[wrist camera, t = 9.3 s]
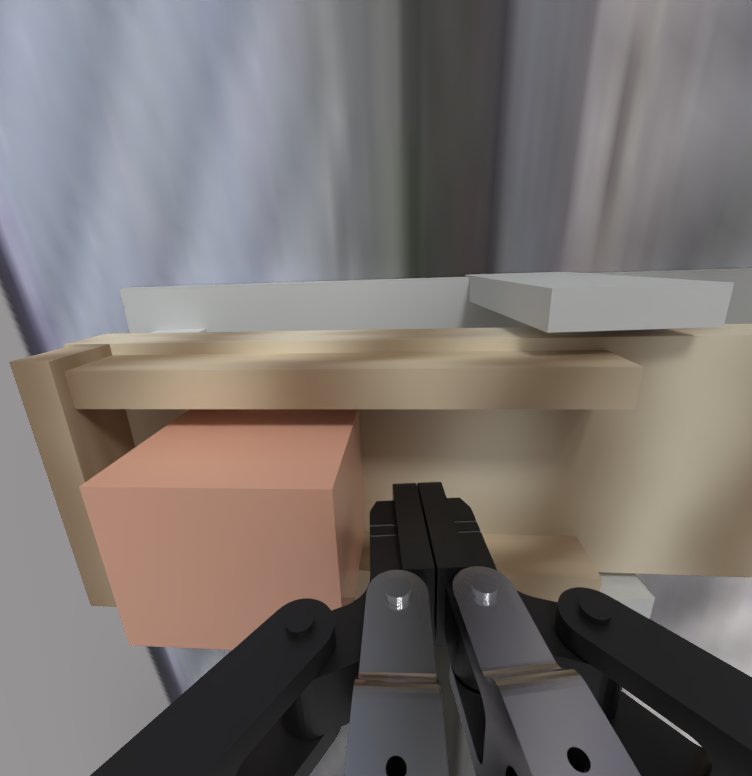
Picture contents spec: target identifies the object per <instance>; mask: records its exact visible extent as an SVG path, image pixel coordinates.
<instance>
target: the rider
mask: <svg viewBox="0 0 752 776" xmlns="http://www.w3.org/2000/svg"><path fill="white" fill-rule="evenodd" d="M79 488H80V491H81V495H82V498H83V501H84V504H85V507H86V510H87V514H88V517H89V520H90V523H91V526H92V529H93V532H94V536H95V539H96V542H97V545H98V548H99V551H100V555H101V558H102V561H103V564H104V567H105V570H106V574H107V577H108V580H109V583H110V586H111V589H112V592H113V596H114V599H115V602H116V605H117V608H118V611H119V614H120V618H121V621H122V624H123V627H124V630H125V634H126V636H127V640H128V643H129V645H136V646H158V647H179V648H201V649H222V650H233V649H234V648H235V647H236V646H238V645H239V644H240V643H241V642H242V641H243V640H244V639H245V638H247V637H248V636H249V635H250V634H251V633H252V632H253V631H255V630H256V629H257V628H258V627H259V626H260V625H261V624H262V623H264V622H265V621H266V620H267V619H268V618H269V617H270V616H272V615H273V614H274V613H275V612H276V611H277V610H278V609H280V608H281V607H282V606H284V605H285V604H287V603H289V602H291V601H294V600H298V599H304V598H311V599H316V600H319V601H321V602H323V603H325V604H326V605H327V606H328V607H329V608H330V609H331V610H334V609H337V608H340V607H343V606H346V605H348V604H350V603H352V602H354V598H355V592H356V585H357V579H358V572H359V566H360V559H361V553H362V546H363V540H364V533H365V518H364V499H363V481H362V462H361V444H360V425H359V409H190V410H188V411H187V412H185V413H184V414H182V415H181V416H180V417H178V418H177V419H175V420H174V421H172V422H171V423H170V424H168V425H167V426H165V427H164V428H162V429H161V430H159V431H158V432H157V433H155V434H154V435H152V436H151V437H149V438H148V439H147V440H145V441H144V442H142V443H141V444H139V445H138V446H137V447H135V448H134V449H132V450H131V451H129V452H128V453H127V454H125V455H124V456H122V457H121V458H119V459H118V460H117V461H115V462H114V463H112V464H111V465H109V466H108V467H107V468H105V469H104V470H102V471H101V472H99V473H98V474H97V475H95V476H94V477H92V478H91V479H89V480H88V481H87V482H85V483H84V484H82V485H81V486H79Z"/></svg>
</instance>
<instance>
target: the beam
mask: <svg viewBox="0 0 752 776" xmlns="http://www.w3.org/2000/svg"><path fill="white" fill-rule="evenodd" d="M63 346H64V348H61V349H57V350H53V351H49V352H46V353H42V354H38V355H34V356H30V357H27V358H23V359H19V360H15V361H12V362H10V365H11V368H12V370H13V374H14V377H15V380H16V383H17V386H18V389H19V392H20V395H21V398H22V401H23V404H24V407H25V410H26V413H27V416H28V419H29V422H30V425H31V428H32V431H33V434H34V437H35V440H36V443H37V446H38V449H39V452H40V455H41V458H42V461H43V464H44V467H45V470H46V473H47V476H48V479H49V482H50V485H51V488H52V491H53V494H54V497H55V500H56V503H57V506H58V508H59V512H60V515H61V518H62V521H63V523H64V526H65V529H66V533H67V535H68V538H69V542H70V545H71V548H72V550H73V553H74V556H75V559H76V562H77V565H78V568H79V571H80V574H81V577H82V580H83V583H84V586H85V589H86V592H87V595H88V598H89V601H90V604H91V606H111V607H117V605H116V602H115V599H114V596H113V592H112V589H111V586H110V583H109V580H108V577H107V574H106V570H105V567H104V564H103V561H102V558H101V555H100V551H99V548H98V545H97V542H96V539H95V536H94V532H93V529H92V526H91V523H90V520H89V517H88V514H87V510H86V507H85V504H84V501H83V498H82V495H81V491H80V488H79V486H81V485H82V484H84V483H85V482H87V481H88V480H89V479H91V478H92V477H94V476H95V475H97V474H98V473H99V472H101V471H102V470H104V469H105V468H107V467H108V466H109V465H111V464H112V463H114V462H115V461H117V460H118V459H119V458H121V457H122V456H124V455H125V454H127V453H128V452H129V451H131V450H132V449H134V448H135V447H137V446H138V445H139V444H141V443H142V442H144V441H145V440H147V439H148V438H149V437H151V436H152V435H154V434H155V433H157V432H158V431H159V430H161V429H162V428H164V427H165V426H167V425H168V424H170V423H171V422H172V421H174V420H175V419H177V418H178V417H180V416H181V415H182V414H184V413H185V412H187V411H188V410H190V409H359V425H360V444H361V462H362V481H363V499H364V518H365V533H364V540H363V546H362V553H361V559H360V566H359V572H358V579H357V585H356V592H355V598H359V597H360V596H361V595H362V594H363V593H364V592H365V591H366V589H367V587H368V585H369V582H370V511H371V509H372V507H373V506H374V504H375V503H376V501H391V500H393V494H392V484H399V483H416V485H417V483H421V482H441V483H442V486H443V489H444V492H445V494H446V497H447V498H461V499H462V500H463V501H464V502H465V503H466V504H467V505H469V506H470V507H471V509H472V511H473V514H474V516H475V519H476V522H477V523H478V526H479V528H480V532H481V533H482V535H483V538H484V540H485V542H486V545H487V547H488V549H489V552H490V554H491V557H492V559H493V561H494V564H495V566H496V568H497V571H498V572H500V573H502V574H503V575H505V576H506V577H507V578H508V579H509V580H510V581H511V582H512V584H513V585H514V587H515V589H516V590H517V591H519V592H521V593H523V594H526V595H529V596H532V597H536V598H541V599H545V600H550V601H554V602H558V599H559V596H560V595H561V594H562V593H563V592H564V591H565V590H568V589H570V588H576V587H584V588H590V589H594V590H597V591H600V588H601V583H602V578H601V576H600V574H599V573H598V572H606V573H636V574H666V575H697V576H727V577H752V324H724V326H723V327H701V328H672V329H643V330H614V331H585V332H556V333H547V332H544V331H542V330H539V329H537V328H534V327H505V328H442V329H378V330H315V331H251V332H188V333H124V334H103V335H99V336H95V337H91V338H87V339H83V340H79V341H75V342H71V343H67V344H63Z"/></svg>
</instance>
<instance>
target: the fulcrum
mask: <svg viewBox="0 0 752 776" xmlns="http://www.w3.org/2000/svg"><path fill="white" fill-rule="evenodd" d="M120 292H121V297H122V301H123V305H124V310H125V314H126V319H127V323H128V327H129V332H130V333H188V332H251V331H315V330H378V329H442V328H505V327H534V328H537V329H539V330H542V331H544V332H547V333H556V332H585V331H614V330H643V329H672V328H701V327H723V326H724V324H752V268H729V269H697V270H665V271H634V272H602V273H578V272H536V273H505V274H473V275H465V277H443V278H412V279H380V280H348V281H317V282H285V283H253V284H222V285H190V286H158V287H130V288H122V289H120ZM598 573H599V574H600V576H601V578H602V583H601V588H600V592H602V593H604V594H606V595H608V596H610V597H612V598H613V599H615V600H617V601H619V602H620V603H622V604H624V605H626V606H627V607H629V608H631V609H633V610H634V611H636V612H638V613H640V614H641V615H643V616H645V617H647V618H648V619H650V616H651V612H652V608H653V604H654V600H655V597H654V596H653V595H652V594H651V593H650V592H649V590H648V589H647V588H646V587H645V586H644V585H643V583H642V582H641V581H640V580H639V579H638V578H637V576H636V575H635V574H634V573H606V572H598Z"/></svg>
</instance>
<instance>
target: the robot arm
mask: <svg viewBox="0 0 752 776" xmlns="http://www.w3.org/2000/svg"><path fill="white" fill-rule="evenodd" d="M392 494H393V500H391V501H376V503H375V504H374V506H373V507H372V509H371V511H370V582H369V585H368V587H367V589H366V591H365V592H364V593H363V594H362V595H361V596H360V597H359V598H358V599H357V600H355V601H354V602H352V603H350V604H348V605H346V606H343V607H340V608H337V609H334V610H331V609H330V608H329V607H328V606H327V605H326V604H325V603H323V602H321V601H319V600H316V599H311V598H304V599H298V600H294V601H291V602H289V603H287V604H285V605H284V606H282V607H281V608H280V609H278V610H277V611H276V612H275V613H274V614H273V615H272V616H270V617H269V618H268V619H267V620H266V621H265V622H264V623H262V624H261V625H260V626H259V627H258V628H257V629H256V630H255V631H253V632H252V633H251V634H250V635H249V636H248V637H247V638H245V639H244V640H243V641H242V642H241V643H240V644H239V645H238V646H236V647H235V648H234V649H233V650H232V651H231V652H230V653H228V654H227V655H226V656H225V657H224V658H223V659H222V660H221V661H219V662H218V663H217V664H216V665H215V666H214V667H213V668H211V669H210V670H209V671H208V672H207V673H206V674H205V675H204V676H202V677H201V678H200V679H199V680H198V681H197V682H196V683H195V684H193V685H192V686H191V687H190V688H189V689H188V690H187V691H185V692H184V693H183V694H182V695H181V696H180V697H179V698H178V699H176V700H175V701H174V702H173V703H172V704H171V705H170V706H168V707H167V708H166V709H165V710H164V711H163V712H162V713H161V714H159V715H158V716H157V717H156V718H155V719H154V720H153V721H152V722H150V723H149V724H148V725H147V726H146V727H145V728H144V729H142V730H141V731H140V732H139V733H138V734H137V735H136V736H134V737H133V738H132V739H131V740H130V741H129V742H128V743H127V744H125V745H124V746H123V747H122V748H121V749H120V750H119V751H118V752H116V753H115V754H114V755H113V756H112V757H111V758H110V759H109V760H108V761H106V762H105V763H104V764H103V765H102V766H101V767H99V768H98V769H97V770H96V771H95V772H94V773H93V774H91V775H90V776H309V775H310V773H311V772H312V771H313V769H314V768H315V766H316V765H317V764H318V762H319V761H320V759H321V758H322V757H323V755H324V754H325V753H326V751H327V750H328V748H329V747H330V746H331V744H332V743H333V741H334V740H335V738H336V737H337V735H338V733H339V731H340V728H341V726H343V725H345V724H348V723H349V732H348V742H347V751H346V761H345V770H344V776H449V771H448V761H447V751H446V741H445V731H444V720H443V710H442V700H441V691H440V684H439V680H437V677H436V667H435V656H434V636H435V642H436V646H444V645H447V647H448V652H449V657H450V681H451V685H452V689H453V692H454V696H455V700H456V703H457V707H458V711H459V714H460V718H461V722H462V725H463V729H464V733H465V736H466V740H467V744H468V747H469V751H470V755H471V758H472V762H473V766H474V769H475V773H476V776H752V677H750V676H748V675H747V674H745V673H743V672H741V671H740V670H738V669H736V668H734V667H733V666H731V665H729V664H727V663H726V662H724V661H722V660H720V659H719V658H717V657H715V656H713V655H712V654H710V653H708V652H706V651H705V650H703V649H701V648H699V647H698V646H696V645H694V644H692V643H691V642H689V641H687V640H685V639H684V638H682V637H680V636H678V635H677V634H675V633H673V632H671V631H670V630H668V629H666V628H664V627H663V626H661V625H659V624H657V623H655V622H654V621H652V620H650V619H648V618H647V617H645V616H643V615H641V614H640V613H638V612H636V611H634V610H633V609H631V608H629V607H627V606H626V605H624V604H622V603H620V602H619V601H617V600H615V599H613V598H612V597H610V596H608V595H606V594H604V593H602V592H600V591H597V590H594V589H590V588H584V587H576V588H570V589H568V590H565V591H564V592H563V593H562V594H561V595H560V596H559V599H558V602H554V601H550V600H545V599H541V598H536V597H532V596H529V595H526V594H523V593H521V592H519V591H517V590H516V589H515V587H514V585H513V584H512V582H511V581H510V580H509V579H508V578H507V577H506V576H505V575H503V574H502V573H500V572H498V571H497V568H496V566H495V564H494V561H493V559H492V557H491V554H490V552H489V549H488V547H487V545H486V542H485V540H484V538H483V535H482V533H481V532H480V528H479V526H478V523H477V522H476V519H475V516H474V514H473V511H472V509H471V507H470V506H469V505H467V504H466V503H465V502H464V501H463V500H462V499H461V498H447V497H446V494H445V492H444V489H443V486H442V483H441V482H421V483H417V485H416V483H399V484H392ZM622 687H623V688H624V689H626V690H627V691H628V692H630V693H631V694H633V695H634V696H635V697H637V698H638V699H640V700H641V701H642V702H644V703H645V704H647V705H648V706H649V707H651V708H652V709H654V710H655V711H656V712H658V713H659V714H661V715H662V716H663V717H665V718H666V719H668V720H669V721H670V722H672V723H673V724H675V725H676V726H677V727H679V728H680V729H682V730H683V731H684V732H686V733H687V734H689V735H690V736H691V737H692V738H694V739H695V740H696V741H697V742H698V743H699V744H700V745H701V746H702V747H703V748H702V747H700V746H698V745H696V744H694V743H693V742H691V741H690V740H688V739H687V738H686V737H684V736H683V735H682V734H680V733H679V732H677V731H676V730H675V729H673V728H672V727H671V726H669V725H668V724H666V723H665V722H664V721H662V720H661V719H659V718H658V717H657V716H655V715H654V714H653V713H651V712H650V711H648V710H647V709H646V708H644V707H643V706H641V705H640V704H639V703H637V702H636V701H635V700H633V699H632V698H630V697H629V696H628V695H626V694H625V693H624V692H622V691H621V690H622Z"/></svg>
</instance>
